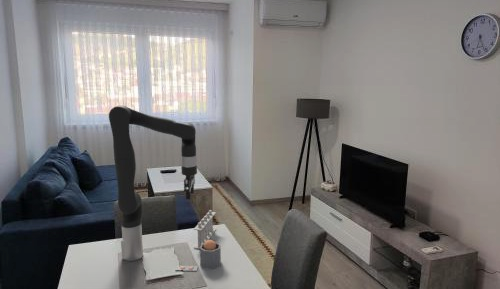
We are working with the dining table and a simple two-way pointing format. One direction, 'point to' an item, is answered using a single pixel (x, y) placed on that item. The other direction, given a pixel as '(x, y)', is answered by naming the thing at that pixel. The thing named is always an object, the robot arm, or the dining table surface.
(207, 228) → the test tube rack
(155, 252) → the dining table surface
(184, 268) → the card
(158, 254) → the dining table surface
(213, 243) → the ball
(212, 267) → the tube
